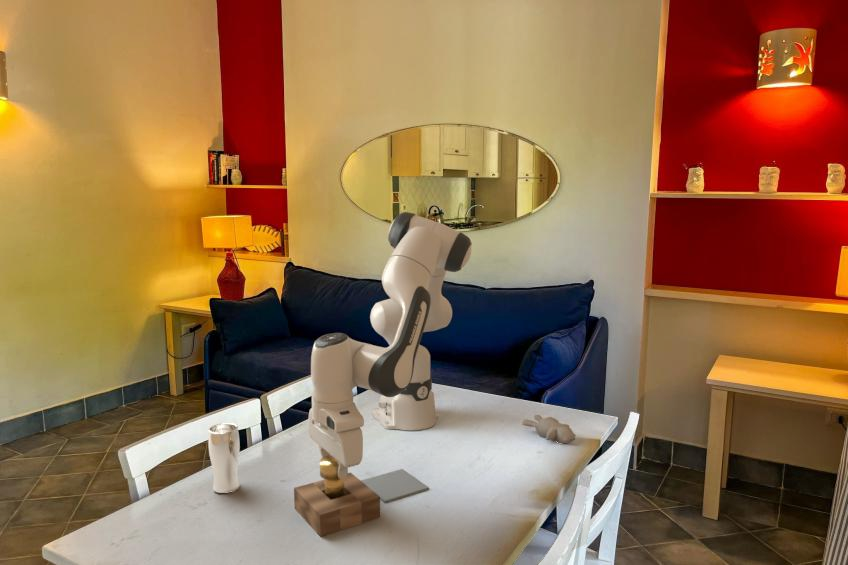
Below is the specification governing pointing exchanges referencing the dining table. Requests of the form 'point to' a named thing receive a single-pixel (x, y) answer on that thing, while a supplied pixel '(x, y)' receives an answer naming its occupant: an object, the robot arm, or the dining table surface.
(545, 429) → the bunny figurine
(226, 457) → the beer glass
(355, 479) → the walnut block
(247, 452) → the dining table surface
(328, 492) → the brass knob
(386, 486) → the rubber mat
